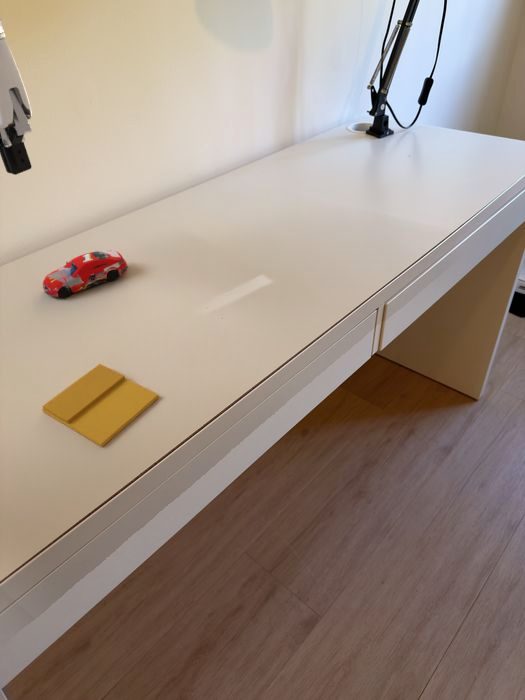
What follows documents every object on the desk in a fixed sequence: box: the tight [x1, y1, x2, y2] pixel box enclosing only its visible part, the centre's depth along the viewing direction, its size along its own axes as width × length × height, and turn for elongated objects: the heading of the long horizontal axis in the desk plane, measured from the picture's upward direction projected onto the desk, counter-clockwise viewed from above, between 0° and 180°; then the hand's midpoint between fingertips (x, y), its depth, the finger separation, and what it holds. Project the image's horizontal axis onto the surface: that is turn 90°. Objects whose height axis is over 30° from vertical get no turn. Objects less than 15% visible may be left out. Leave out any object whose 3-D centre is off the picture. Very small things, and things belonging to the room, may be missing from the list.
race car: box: [42, 249, 129, 299], centre depth 82 cm, size 13×5×4 cm, turn 123°
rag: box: [41, 363, 160, 448], centre depth 61 cm, size 9×10×1 cm
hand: (19, 170), depth 78 cm, fingers closed
